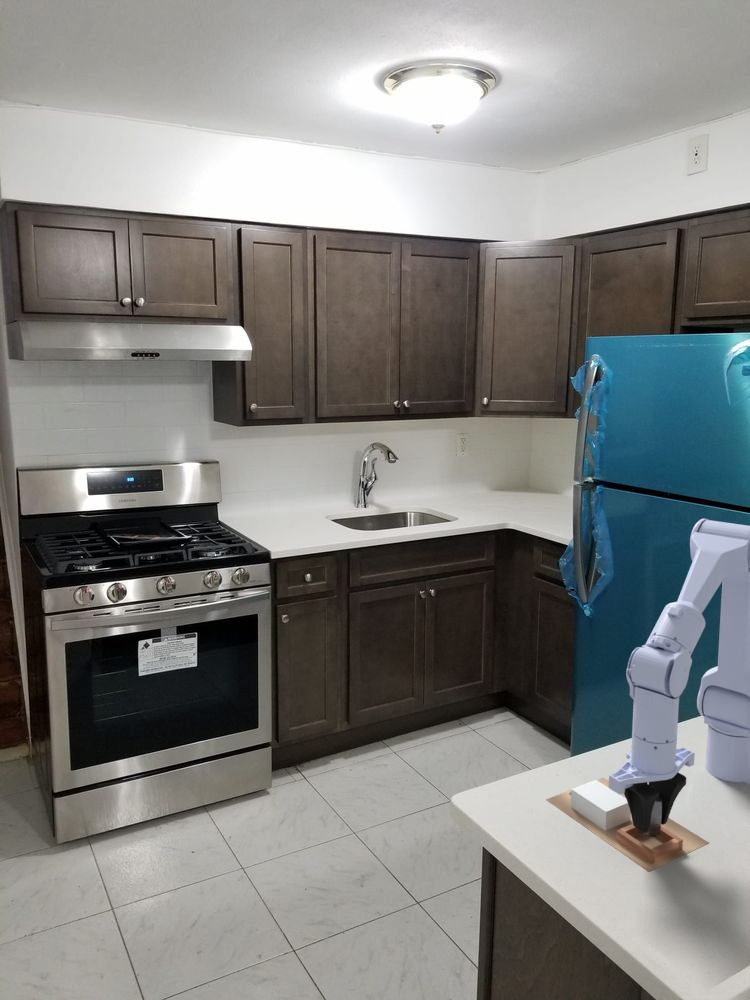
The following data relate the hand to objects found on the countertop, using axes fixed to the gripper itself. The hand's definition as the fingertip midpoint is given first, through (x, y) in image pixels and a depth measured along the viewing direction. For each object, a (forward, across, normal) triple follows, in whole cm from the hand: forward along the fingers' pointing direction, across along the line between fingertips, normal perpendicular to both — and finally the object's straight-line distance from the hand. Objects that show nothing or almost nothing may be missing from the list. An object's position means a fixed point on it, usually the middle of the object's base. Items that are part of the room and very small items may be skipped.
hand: (649, 824), depth 110 cm
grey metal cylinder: (+1, 0, 0) cm, 1 cm away
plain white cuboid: (+3, 0, -9) cm, 10 cm away
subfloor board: (+4, -2, -6) cm, 7 cm away
